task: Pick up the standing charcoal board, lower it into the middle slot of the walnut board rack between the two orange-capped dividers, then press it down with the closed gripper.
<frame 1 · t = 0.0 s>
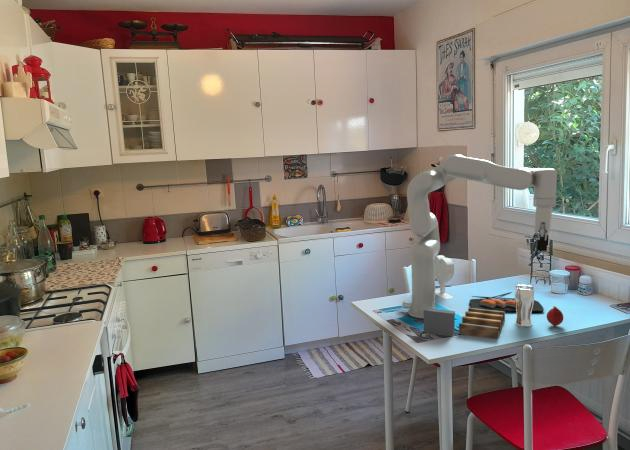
hand: (542, 248, 193), 31 cm above the table, tool pointing down, fingers open, 9 cm apart
beer glass: (523, 324, 203), on the table
sushi plate: (502, 303, 231), on the table
onion: (554, 326, 200), on the table
heart sculpture: (442, 294, 244), on the table
board: (438, 333, 197), on the table
rack: (482, 327, 201), on the table
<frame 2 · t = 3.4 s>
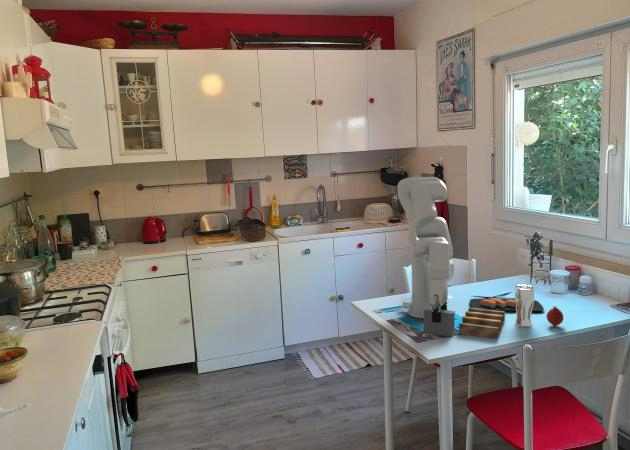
hand: (439, 318, 195), 6 cm above the table, tool pointing down, fingers open, 9 cm apart
nothing on the table moved.
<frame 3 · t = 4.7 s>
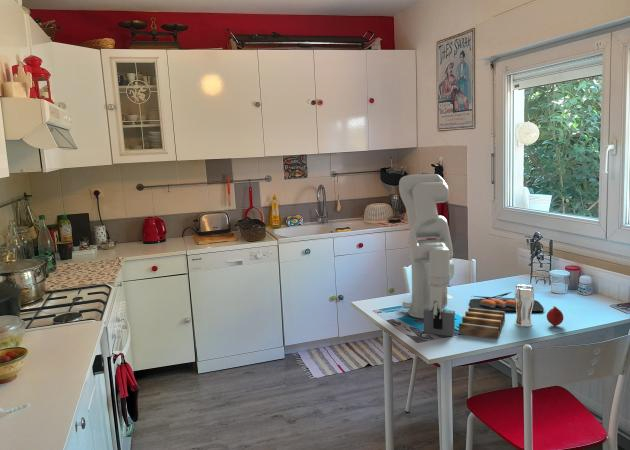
hand: (438, 326, 196), 3 cm above the table, tool pointing down, fingers closed on board, 3 cm apart
board: (438, 333, 197), on the table, touching gripper
everything else where it was.
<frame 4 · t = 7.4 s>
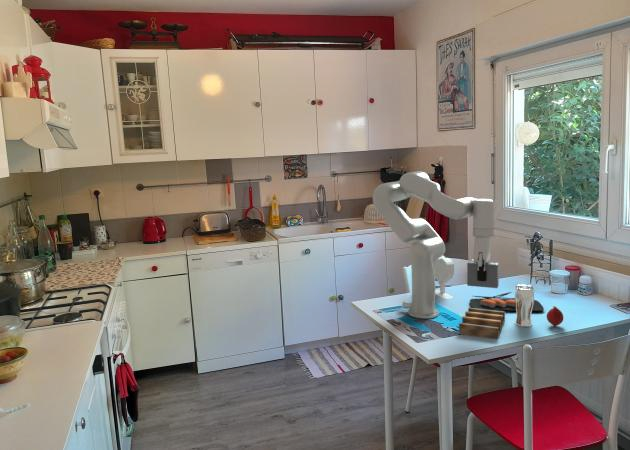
hand: (482, 279, 198), 19 cm above the table, tool pointing down, fingers closed on board, 3 cm apart
board: (482, 285, 198), point 17 cm above the table, touching gripper
everything else where it was.
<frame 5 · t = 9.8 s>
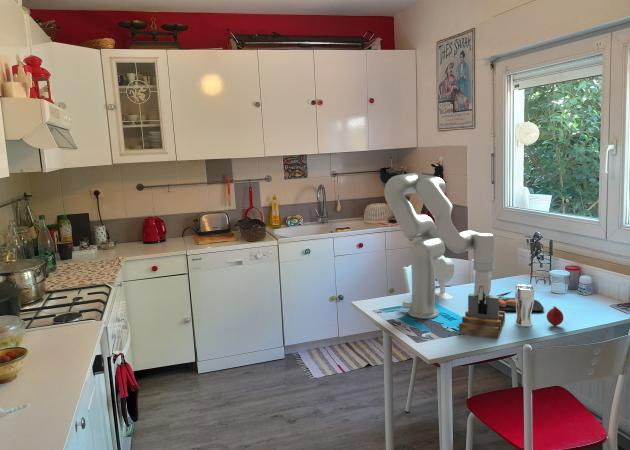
hand: (483, 311, 200), 6 cm above the table, tool pointing down, fingers closed on board, 3 cm apart
board: (483, 318, 200), point 4 cm above the table, touching gripper
everything else where it was.
when the fingers open (5 cm above the table, at t = 10.4 s): board drops 1 cm, resting on rack.
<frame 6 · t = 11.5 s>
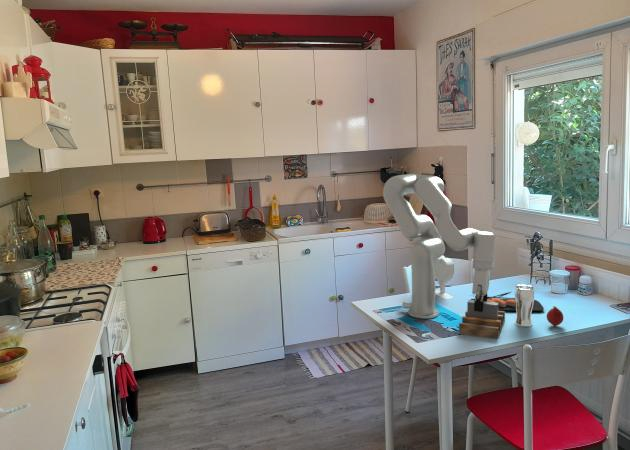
hand: (480, 307, 200), 8 cm above the table, tool pointing down, fingers open, 9 cm apart
board: (482, 324, 201), point 1 cm above the table, touching rack
everything else where it was.
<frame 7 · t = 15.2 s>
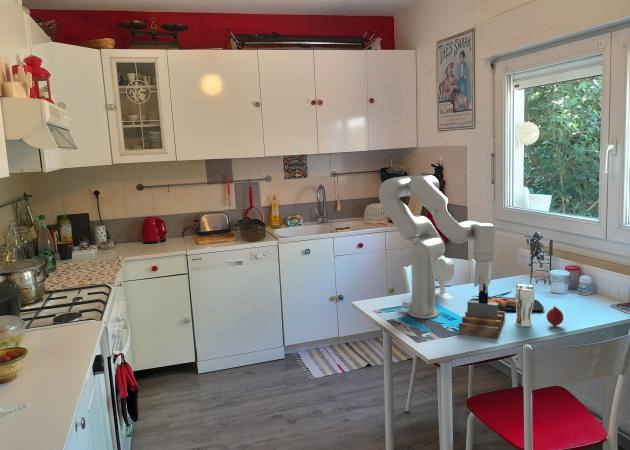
hand: (483, 302, 199), 10 cm above the table, tool pointing down, fingers closed
board: (482, 324, 201), point 1 cm above the table, touching gripper, rack
everything else where it was.
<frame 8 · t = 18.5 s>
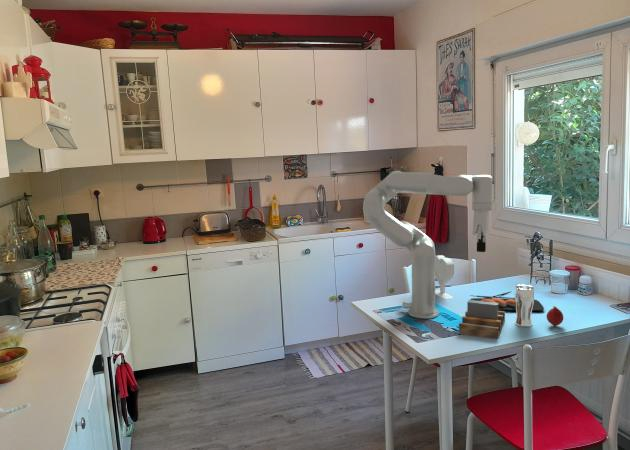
hand: (481, 251, 209), 27 cm above the table, tool pointing down, fingers closed
board: (482, 324, 201), point 1 cm above the table, touching rack
everything else where it was.
at the end: board 0.0 cm off-centre on the rack, point 1.0 cm above the rack's base; board tilted 0°; the gripper is holding nothing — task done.
